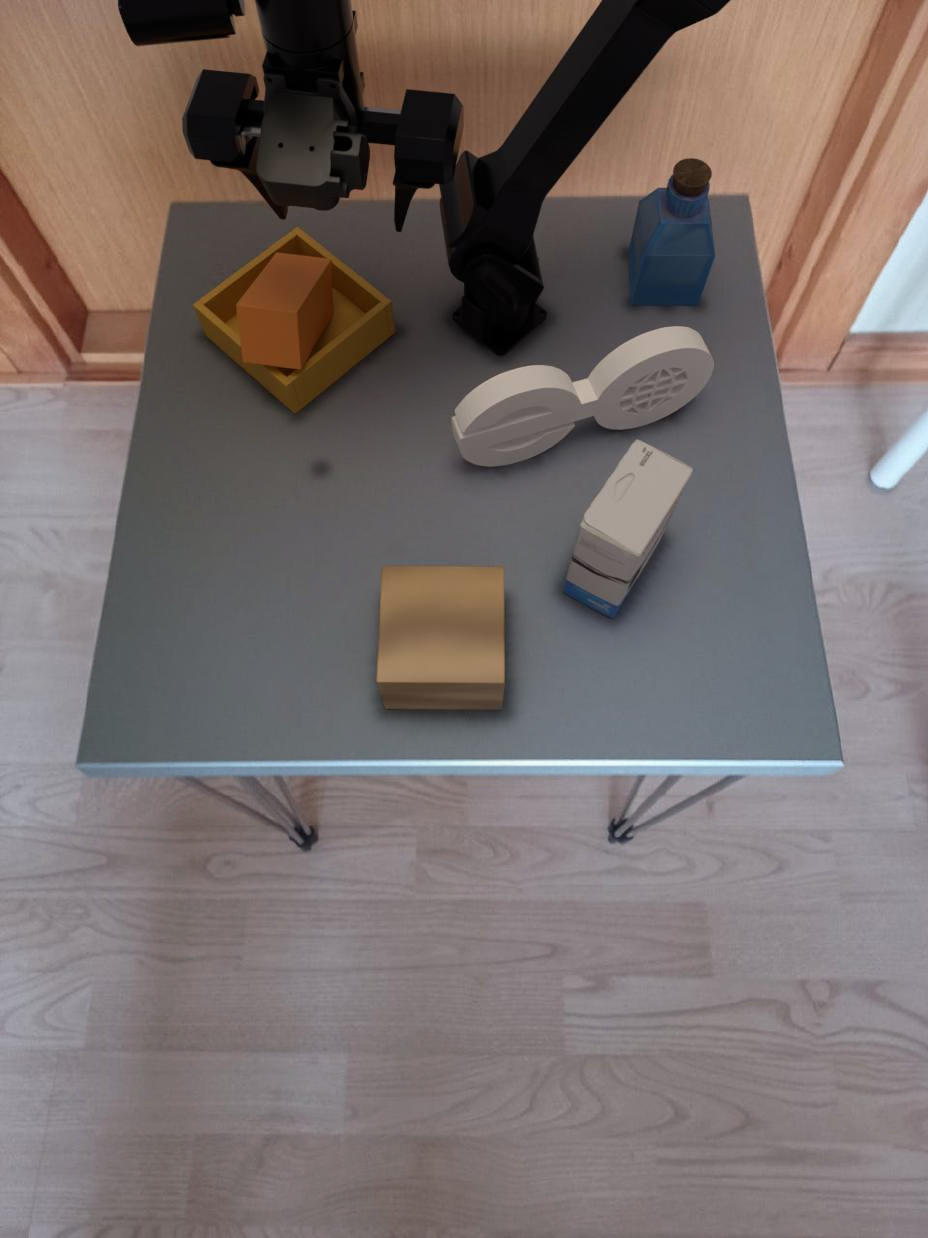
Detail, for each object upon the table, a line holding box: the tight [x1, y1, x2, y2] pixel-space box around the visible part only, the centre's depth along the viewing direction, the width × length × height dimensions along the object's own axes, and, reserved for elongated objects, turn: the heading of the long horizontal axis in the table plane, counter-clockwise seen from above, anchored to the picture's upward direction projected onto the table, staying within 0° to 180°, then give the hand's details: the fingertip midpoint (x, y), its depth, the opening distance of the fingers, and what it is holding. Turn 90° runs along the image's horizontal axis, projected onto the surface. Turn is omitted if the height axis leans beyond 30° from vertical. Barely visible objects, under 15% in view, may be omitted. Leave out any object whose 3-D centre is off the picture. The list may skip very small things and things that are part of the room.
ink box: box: [562, 438, 694, 619], centre depth 66 cm, size 8×5×12 cm, turn 148°
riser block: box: [375, 565, 506, 711], centre depth 65 cm, size 9×9×7 cm
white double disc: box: [450, 325, 715, 468], centre depth 71 cm, size 22×2×10 cm, turn 108°
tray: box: [192, 226, 396, 415], centre depth 78 cm, size 12×12×4 cm
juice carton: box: [236, 253, 334, 370], centre depth 75 cm, size 5×5×11 cm
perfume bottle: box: [627, 157, 716, 307], centre depth 76 cm, size 6×6×12 cm
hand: (341, 221), depth 68 cm, fingers open, 9 cm apart
